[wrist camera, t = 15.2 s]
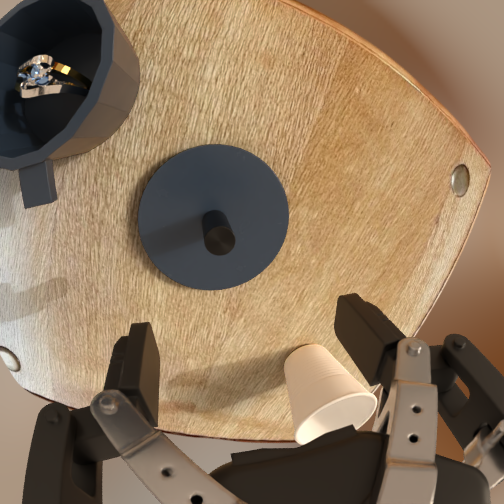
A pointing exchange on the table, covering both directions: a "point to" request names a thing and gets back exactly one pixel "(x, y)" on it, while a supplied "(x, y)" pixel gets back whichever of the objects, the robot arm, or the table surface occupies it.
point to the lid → (213, 217)
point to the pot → (62, 104)
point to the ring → (49, 78)
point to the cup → (323, 394)
